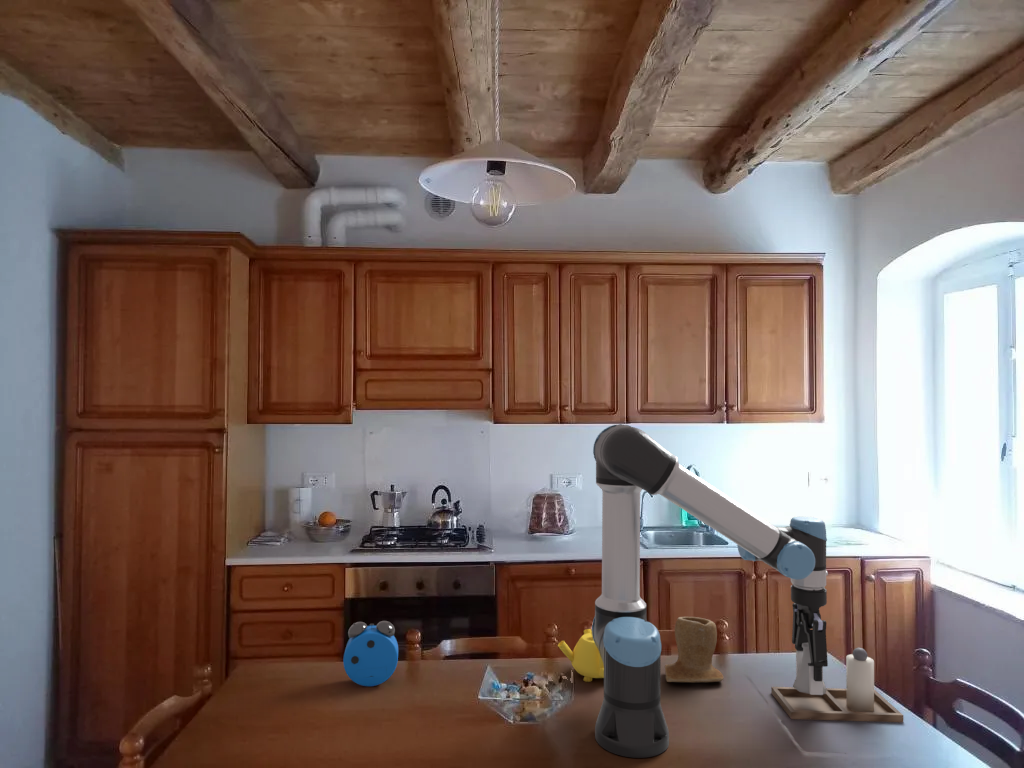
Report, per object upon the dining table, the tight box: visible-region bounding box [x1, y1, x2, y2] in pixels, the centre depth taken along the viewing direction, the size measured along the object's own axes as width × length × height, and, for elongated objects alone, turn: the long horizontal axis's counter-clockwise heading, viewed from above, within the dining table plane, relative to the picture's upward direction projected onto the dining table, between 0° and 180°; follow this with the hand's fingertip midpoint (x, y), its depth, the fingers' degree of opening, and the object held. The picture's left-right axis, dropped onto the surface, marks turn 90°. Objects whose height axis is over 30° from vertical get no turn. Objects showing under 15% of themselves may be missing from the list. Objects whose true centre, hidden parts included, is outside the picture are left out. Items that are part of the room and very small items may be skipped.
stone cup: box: [664, 616, 724, 683], centre depth 172 cm, size 15×12×15 cm
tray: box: [770, 686, 904, 723], centre depth 155 cm, size 24×13×2 cm, turn 87°
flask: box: [792, 643, 827, 694], centre depth 155 cm, size 7×7×10 cm
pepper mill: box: [845, 647, 875, 712], centre depth 154 cm, size 6×6×14 cm
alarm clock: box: [342, 620, 399, 687], centre depth 168 cm, size 13×6×15 cm, turn 98°
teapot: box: [557, 628, 604, 683], centre depth 174 cm, size 14×14×11 cm
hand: (809, 686), depth 155 cm, fingers closed on flask, 7 cm apart
